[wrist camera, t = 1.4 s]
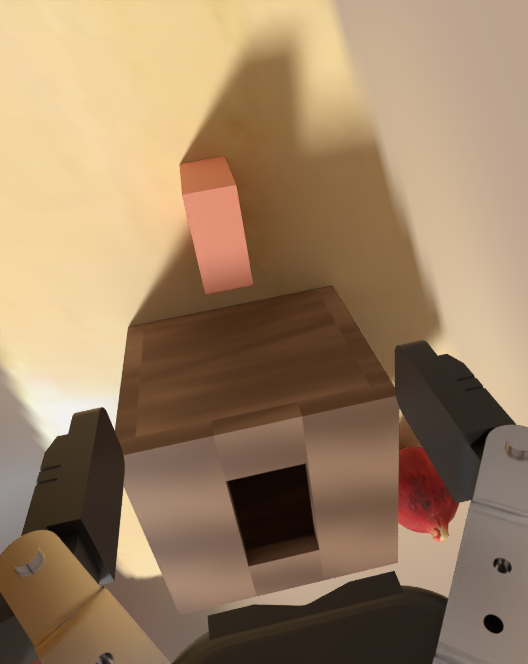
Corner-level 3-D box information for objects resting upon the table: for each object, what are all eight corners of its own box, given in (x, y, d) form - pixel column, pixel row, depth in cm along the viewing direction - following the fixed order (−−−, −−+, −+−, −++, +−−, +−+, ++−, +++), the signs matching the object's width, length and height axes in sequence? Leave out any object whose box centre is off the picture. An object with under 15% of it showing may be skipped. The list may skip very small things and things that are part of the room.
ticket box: (128, 327, 31) (111, 458, 22) (335, 285, 32) (403, 394, 23) (176, 470, 38) (179, 614, 29) (345, 433, 39) (400, 561, 30)
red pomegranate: (356, 443, 40) (394, 529, 33) (425, 415, 39) (478, 496, 33) (374, 486, 43) (412, 573, 36) (438, 461, 43) (489, 544, 36)
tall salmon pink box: (179, 164, 27) (182, 195, 22) (224, 155, 27) (236, 184, 22) (199, 250, 29) (205, 294, 25) (239, 242, 29) (253, 285, 25)
